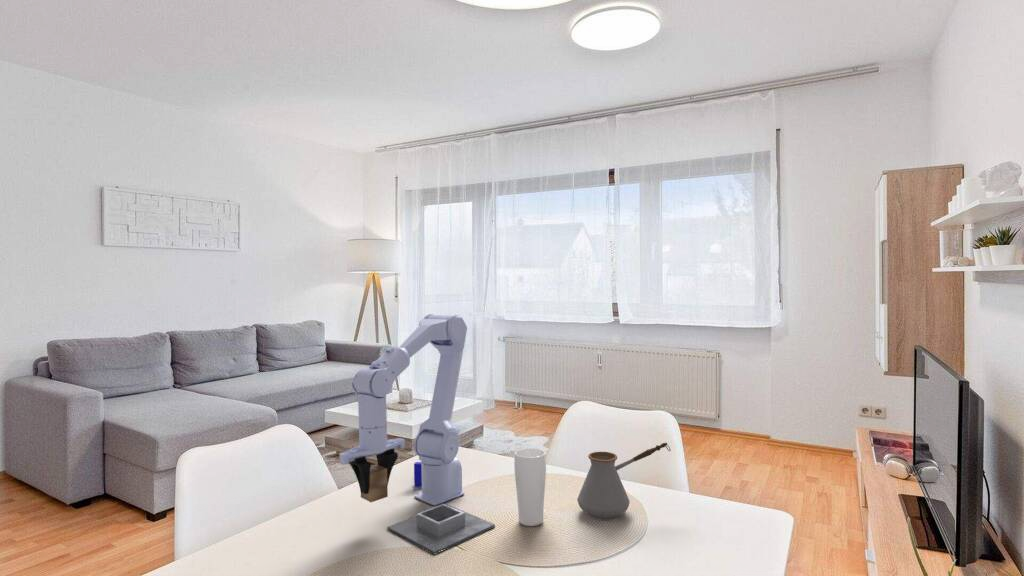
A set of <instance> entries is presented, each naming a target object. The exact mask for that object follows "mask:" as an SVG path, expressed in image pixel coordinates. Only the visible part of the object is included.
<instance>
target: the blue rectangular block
mask: <svg viewBox="0 0 1024 576" xmlns="http://www.w3.org/2000/svg"><path fill="white" fill-rule="evenodd" d="M413 482H414V483H413V484H414V487H415V488H422V467H421V461H415V462H414V463H413Z"/></svg>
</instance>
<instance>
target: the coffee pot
mask: <svg viewBox="0 0 1024 576" xmlns="http://www.w3.org/2000/svg"><path fill="white" fill-rule="evenodd" d="M663 448H666V450H667V451H668V452H671V448H670V446H669V445H668V442H662V443H660V445H655V447H651V448H648V449H646V450H645V451H642V452H641V453H639V454H637V455H635V456H634V457H632V458H631V459H628V460H627V461H624V462H622V463H619V464H617V465H616V464H615V463H616V461H617V460H618V455H617V454H616V453H614V452H610V451H609V452H608V451H593V452H591V453H589V454H588V456H587V458H588V459H589V460H590V464H591V465H590V467H589V469H588V472H587V475H586V477H585V480H584V481H583V484H582V487H581V489H580V492H579V493H578V495H577V500H576V501H577V504H578V506H579V508H580V509H581V510H582V512H584V513H586V516H588V517H589V518H591V519H594V520H598V521H613V520H614V521H615V520H616V519H619V518H620V517H622V515H623V514H625V512H626V511H627V510H628V509H629V507H630V503H631V502H630V499H629V496H628V494H627V492H626V489H625V486H624V485H623V484H624V483H623V482H622V480H621V478H620V475H619V473H618V471H619V470H620V469H623V468H625V467H627V466H629V465H631V464H632V463H635V462H637V461H640V460H641V459H644V458H646V457H649V456H651V455H652V454H654V453H656V452H657V451H658V452H659V451H661V449H663Z"/></svg>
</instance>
